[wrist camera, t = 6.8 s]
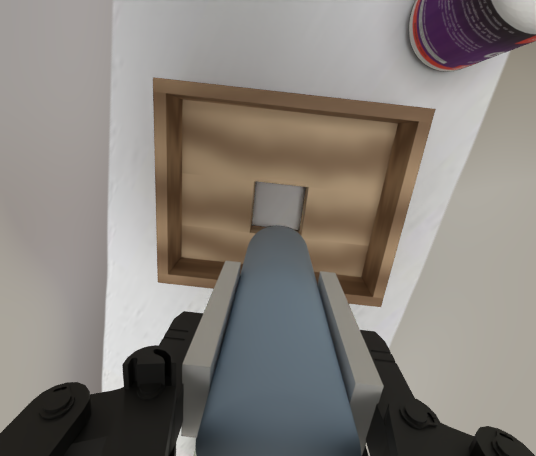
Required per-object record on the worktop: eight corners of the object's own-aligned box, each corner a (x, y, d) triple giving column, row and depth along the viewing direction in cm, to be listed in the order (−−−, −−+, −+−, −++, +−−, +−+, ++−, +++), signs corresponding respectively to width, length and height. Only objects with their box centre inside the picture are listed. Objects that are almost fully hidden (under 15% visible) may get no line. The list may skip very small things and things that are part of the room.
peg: (249, 222, 17) (198, 381, 6) (312, 229, 17) (378, 402, 6) (244, 278, 19) (193, 497, 7) (303, 284, 19) (343, 514, 7)
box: (180, 90, 28) (152, 77, 21) (400, 115, 28) (435, 109, 21) (180, 255, 33) (157, 282, 27) (361, 275, 33) (380, 307, 27)
